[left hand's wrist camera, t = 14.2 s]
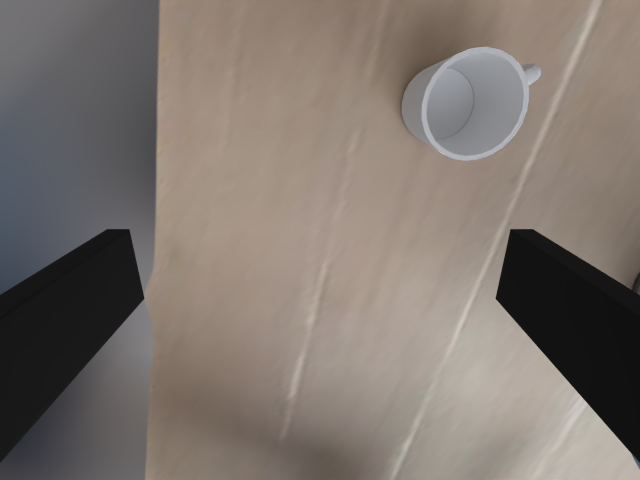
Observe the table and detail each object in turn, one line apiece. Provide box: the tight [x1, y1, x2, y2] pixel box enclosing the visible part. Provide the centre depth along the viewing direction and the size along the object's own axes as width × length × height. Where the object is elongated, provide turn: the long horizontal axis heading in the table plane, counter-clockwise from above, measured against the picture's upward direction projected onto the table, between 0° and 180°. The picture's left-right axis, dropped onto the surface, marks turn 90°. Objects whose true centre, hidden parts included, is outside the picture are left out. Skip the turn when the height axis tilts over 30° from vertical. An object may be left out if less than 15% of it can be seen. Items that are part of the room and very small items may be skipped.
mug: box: [401, 47, 541, 161], centre depth 34 cm, size 11×9×10 cm
